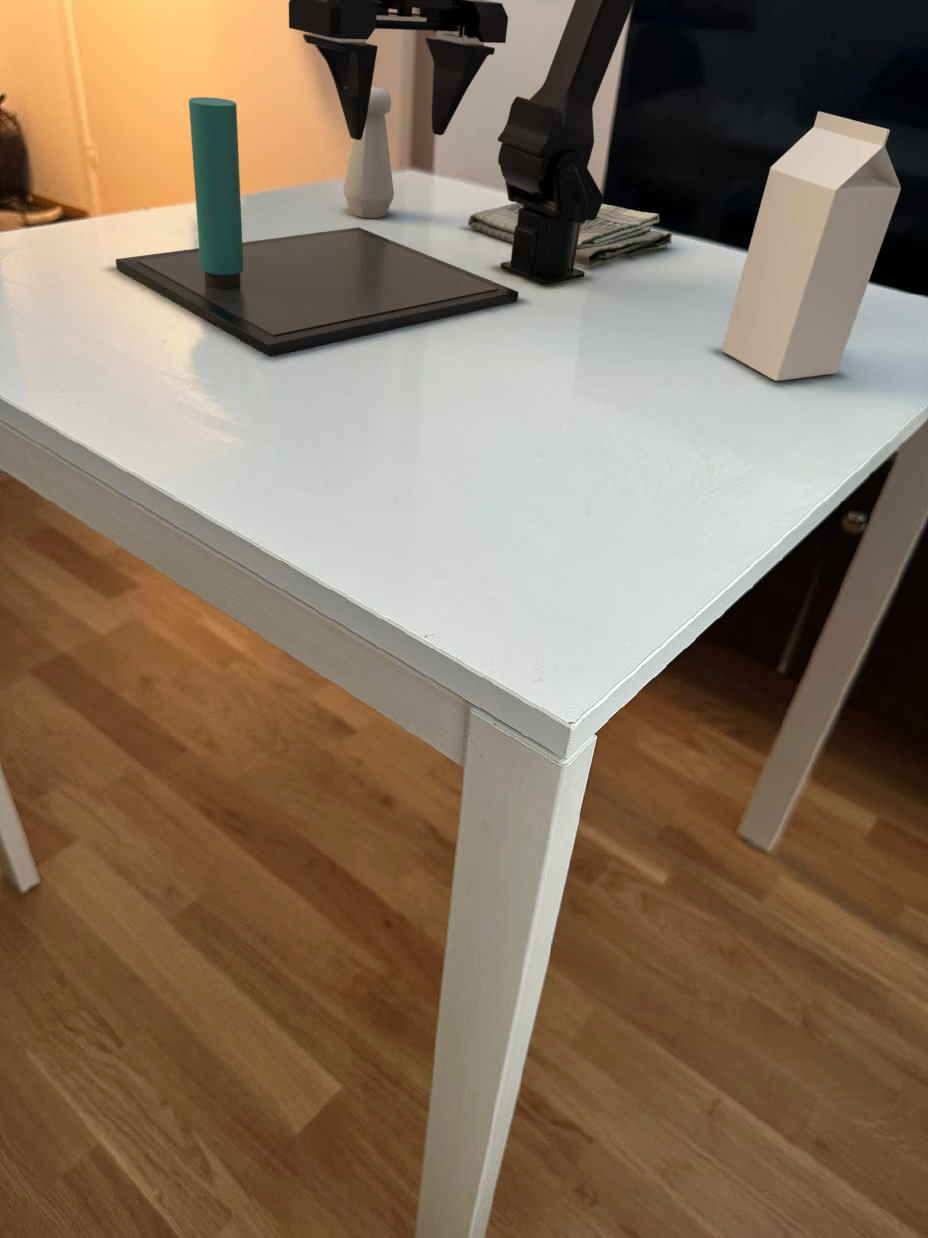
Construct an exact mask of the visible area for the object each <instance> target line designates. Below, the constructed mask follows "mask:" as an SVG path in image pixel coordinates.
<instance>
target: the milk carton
mask: <svg viewBox="0 0 928 1238" xmlns="http://www.w3.org/2000/svg"><path fill="white" fill-rule="evenodd" d="M890 132H891V130H890V129H889V128H885V127H881V126H877V125H873V124H870V123H865V122H861V121H857V120H853V119H850V118H847V117H843V116H838V115H834V114H831V113H826V112H823V111H817V114H816V117H815V121H814V124H813V127H811V129H810V130H808V132H806V133H805V134H804V135H803V136H802V137H801V138H800V139H799V140H798V141H797V142H795V143H794V144H793V146H791V148H789V149H788V150H787V151H786V152H784V154H783V155H782V156H781V157H780V158H779V159H777V160H776V162H774V163H773V164H772V165H771V166H770V167H769V172H768V176H767V180H766V183H765V186H764V191H763V195H762V198H761V202H760V206H759V210H758V213H757V217H756V220H755V224H754V228H753V232H752V235H751V238H750V243H749V246H748V251H747V254H746V258H745V261H744V265H743V269H742V272H741V276H740V280H739V283H738V284H739V285H738V287H737V291H736V294H735V295H736V296H735V298H734V301H733V305H732V309H731V313H730V317H729V320H728V324H727V328H726V331H725V336H724V340H723V343H722V347H721V351H722V352H723V353H725V354H726V355H728V356H730V357H731V358H733V359H735V360H737V361H739V362H741V363H743V364H744V365H746V366H748V367H750V368H751V369H754V370H755V371H757V372H759V373H761V374H762V375H764V376H765V377H768V378H769V379H770V380H771V379H772V380H773V381H775V382H779V381H787V380H794V379H801V378H802V379H803V378H809V377H810V378H811V377H817V376H824V375H832V374H837V372H838V370H839V367H840V364H841V361H842V359H843V356H844V353H845V350H846V347H847V344H848V341H849V339H850V335H851V332H852V329H853V327H854V324H855V321H856V318H857V316H858V313H859V310H860V307H861V304H862V302H863V298H864V295H865V293H866V290H867V287H868V284H869V281H870V279H871V275H872V273H873V270H874V268H875V264H876V262H877V259H878V255H879V253H880V250H881V248H882V244H883V242H884V239H885V236H886V233H887V230H888V228H889V224H890V222H891V218H892V215H893V213H894V210H895V207H896V204H897V202H898V199H899V195H900V194H901V189H902V187H901V184H900V182H899V178H898V176H897V173H896V171H895V169H894V165H893V163H892V160H891V158H890V156H889V153H888V150H887V148H886V144H887V141H888V138H889V135H890Z"/></svg>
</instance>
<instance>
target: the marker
mask: <svg viewBox="0 0 928 1238" xmlns="http://www.w3.org/2000/svg"><path fill="white" fill-rule="evenodd" d="M237 108H238V107H237V103H236V101H234V100H230V99H226V98H219V97H208V96H206V97H205V96H202V97H201V96H199V97H198V96H197V97H191V98H189V99H188V109H189V125H190V136H191V137H190V140H191V152H192V166H193V180H194V196H195V209H196V210H195V211H196V224H197V236H198V237H197V238H198V248H199V253H200V267H201V270H202V271H204V273H205V283H206V284H207V285H209V286H211V287H216V288H233V287H237V286H239V285H240V283H241V281H240V273H241V272H242V271H243V246H242V243H243V228H242V227H243V226H242V225H243V224H242V205H241V204H242V202H241V200H242V199H241V181H240V180H241V179H240V178H241V177H240V158H239V156H240V155H239V132H238V111H237Z"/></svg>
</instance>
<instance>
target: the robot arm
mask: <svg viewBox="0 0 928 1238" xmlns="http://www.w3.org/2000/svg"><path fill="white" fill-rule="evenodd" d="M634 3H635V0H574V3H573V5H572V8H571V11H570V13H569V16H568V18H567V21H566V24H565V27H564V29H563V32H562V35H561V37H560V40H559V43H558V46H557V48H556V51H555V54H554V56H553V59H552V62H551V64H550V67H549V69H548V72H547V74H546V78H545V80H544V82H543V84H542V86H540V88H538V89H539V90H537V91H536V92H535V93H534V95H532V96H531V97H530V98H525V97H522V96H515V98H514V99H513V101H512V103H511V106H510V109H509V112H508V113H509V114H508V117H507V121H506V124H505V126H504V127H503V130H502V132H500V134H499V136H498V137H497V141H498V142H499V143H501V144H500V148H499V151H498V155H497V156H498V158H497V159H498V160H497V164H498V165H499V167H500V171H501V175H502V177H503V179H504V181H505V187H506V193H507V194H506V195H507V200H508V201H510V202H511V203H519V204H521V205H523V208H520V209H519V212H518V220H517V226H516V227H515V230H514V239H513V243H512V248H511V255H510V261H504V262H500V266H499V268H500V269H502V270H504V271H507V272H510V273H512V274H515V275H517V276H520V277H523V278H525V279H527V280H530V281H533V282H535V283H538V284H541V285H545V286H549V285H553V284H557V283H563V282H567V281H572V280H576V279H582V278H584V277H585V274H586V272H585V271H584V270H581V269H578V268H575V263H576V261H575V257H576V251H577V245H578V239H579V232H580V226H581V223H585V221H587V220H595V219H596V217H597V215H598V212H599V210H600V208H601V205H602V204H604V203H603V202H604V200H605V199H604V198H605V197H604V195H603V193H602V192H601V190H600V188H599V186H598V184H597V183H596V181H595V179H594V177H593V175H592V173H591V172H590V170H589V168H588V166H589V163H590V160H591V156H592V153H593V149H594V144H595V129H594V115H593V114H594V111H593V108H594V105H595V100H596V98H597V95H598V93H599V90H600V88H601V85H602V83H603V81H604V78H605V76H606V73H607V70H608V67H609V66H610V63H611V60H612V59H613V58H612V57H613V55H614V52H615V50H616V48H617V45H618V43H619V40H620V38H621V35H622V32H623V29H624V27H625V25H626V23H627V19H628V17H629V14H630V12H631V9H632V7H633V5H634ZM413 9H419V12H413ZM391 10H396V11H391ZM508 22H509V16H508V13H507V12H506V9H505V7H504V5H503V2H497V1H492V0H289V1H288V29H292V30H295V31H300V32H305V33H303V34H302V37H303V39H304V42H305V43H306V44H310V45H314V47H315V48H316V49H317V51H318V52H319V53H320V55H321V56H322V57H323V59H324V61H325V62H326V64H327V66H328V69H329V72H330V75H331V76H332V79H333V83H334V86H335V88H336V92H337V95H338V98H339V99H338V100H339V102H340V106H341V110H342V113H343V117H344V121H345V123H346V127H347V131H348V134H349V136H350V138H351V139H352V140H353V139H356V140H361V139H362V136H363V132H364V128H365V124H366V119H367V113H368V106H369V100H370V93H371V87H373V86H372V85H373V79H374V73H375V66H376V62H377V61H376V60H377V53H378V45H376V44H371V43H368V42H367V40H369V39H370V37H371V35H372V34H373V33H374V31H375V30H376V29H377V30H402V31H409V30H410V31H427V32H428V31H429V32H430V31H432V32H434V33H436V36H435V37H425V42H426V44H427V47H428V50H429V52H430V56H431V58H432V61H433V72H432V73H433V74H432V95H431V96H432V97H431V131H432V132H431V133H433V134H434V135H437V136H443V135H444V134H445V132H446V131H447V128H448V126H449V124H450V123H451V121H452V119H453V117H454V116H455V113H456V111H457V109H458V107H459V105H461V102H462V100H463V98H464V96H465V94H466V92H467V91H468V89H469V87H470V86H471V84H472V82H473V81H474V79H475V77H476V76H477V74H478V72H479V70H480V69H481V67H482V66H483V64H484V63H485V61H486V59H487V58H488V56H493V55H494V54H495V50H496V47H494V46H489V45H485V43H486V44H487V43H488V44H506V43H507V32H508Z"/></svg>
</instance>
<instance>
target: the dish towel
mask: <svg viewBox="0 0 928 1238" xmlns="http://www.w3.org/2000/svg"><path fill="white" fill-rule="evenodd" d="M520 208H523V205H521V204H519V203H516V202H514V203H511V204H506V205H503V206H500V207H496V208H495V207H494V208H491V209H486V210H482V211H480V212H475V213H472V214H471V215H470V216H469V218H468V221H467V225H468V226H469V227H470V228H473V229H475V230H476V231H479V232H482V233H483V234H486V235H489V236H491V237H494V238H496V239H500V240H501V241H504V242H505V241H506V242H507V243H511V244H513V239H514V230H515V227H516V226H517V220H518V212H519V209H520ZM658 223H660V215H659V213H654V212H647V211H640V210H634V209H628V208H625V207H621V206H615V205H612V204H611V205H609V204H605V203H602V205H601V208H600V210H599V212H598V215H597V217H596V219H595V220H587V221H585V223H581V226H580V232H579V239H578V245H577V251H576V257H575V263H578V264H581V265H583V266H585V267H588V268H591V267H594V266H596V265H599V264H604V263H607V262H611V261H613V260H615V259H616V258H621V257H631V256H633V255H636V254H637V253H639V252H645V251H651V250H659V249H662V248H667V247H668V246H670V244H671V245H672V237H673V233H672V232H670V231H665V230H664V231H662V230H657V231H656V230H651V226H654V224H658Z"/></svg>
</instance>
